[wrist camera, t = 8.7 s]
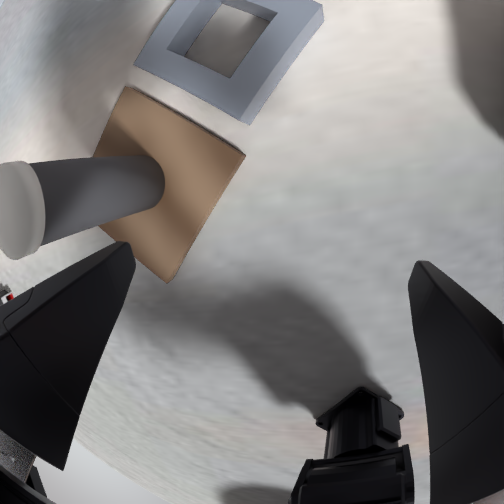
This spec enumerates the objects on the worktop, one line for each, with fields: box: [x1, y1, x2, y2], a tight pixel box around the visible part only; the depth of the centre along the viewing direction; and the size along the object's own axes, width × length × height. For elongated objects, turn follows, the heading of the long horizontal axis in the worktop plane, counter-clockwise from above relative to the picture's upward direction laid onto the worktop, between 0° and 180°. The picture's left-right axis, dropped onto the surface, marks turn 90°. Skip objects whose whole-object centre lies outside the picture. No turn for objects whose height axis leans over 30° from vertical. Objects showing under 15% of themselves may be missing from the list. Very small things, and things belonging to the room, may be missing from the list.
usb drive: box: [0, 290, 15, 306], centre depth 36 cm, size 5×12×3 cm, turn 112°
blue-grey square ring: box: [133, 0, 324, 125], centre depth 17 cm, size 10×10×3 cm
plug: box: [0, 155, 165, 260], centre depth 16 cm, size 5×5×12 cm
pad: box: [93, 86, 246, 283], centre depth 23 cm, size 12×12×1 cm
